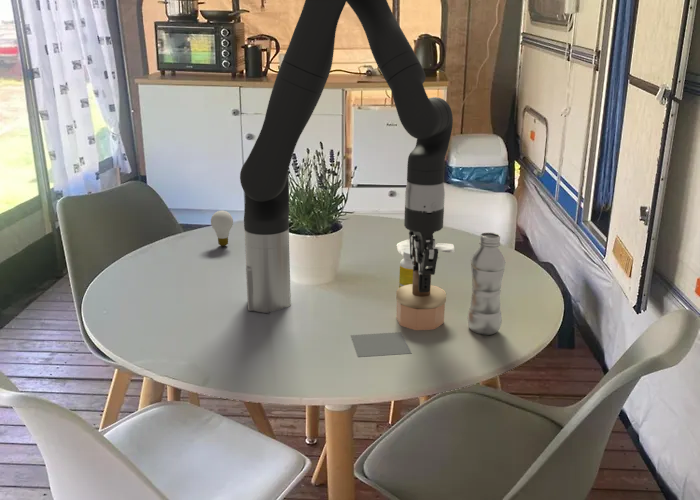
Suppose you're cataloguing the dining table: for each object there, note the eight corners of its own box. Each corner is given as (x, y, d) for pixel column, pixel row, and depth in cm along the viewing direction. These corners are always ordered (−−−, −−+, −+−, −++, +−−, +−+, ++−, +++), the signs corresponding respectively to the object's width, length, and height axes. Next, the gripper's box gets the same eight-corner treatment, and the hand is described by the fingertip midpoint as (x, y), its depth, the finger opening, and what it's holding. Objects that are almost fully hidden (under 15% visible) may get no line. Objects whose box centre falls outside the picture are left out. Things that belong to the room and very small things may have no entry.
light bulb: (232, 250, 182) (230, 213, 179) (210, 249, 182) (208, 213, 179) (236, 243, 188) (234, 208, 185) (214, 243, 188) (212, 207, 185)
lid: (402, 310, 132) (403, 283, 130) (391, 290, 141) (392, 265, 139) (452, 307, 133) (453, 280, 131) (438, 287, 142) (439, 262, 141)
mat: (357, 359, 123) (357, 356, 123) (350, 338, 132) (350, 335, 132) (411, 356, 125) (411, 353, 125) (401, 334, 133) (401, 332, 133)
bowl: (403, 333, 134) (403, 310, 132) (393, 315, 142) (394, 292, 141) (447, 330, 135) (448, 307, 133) (435, 312, 143) (436, 290, 142)
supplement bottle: (421, 297, 151) (423, 255, 148) (397, 295, 152) (398, 254, 149) (423, 288, 156) (425, 248, 153) (400, 286, 157) (401, 246, 154)
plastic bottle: (493, 341, 131) (501, 242, 124) (461, 333, 134) (467, 236, 128) (505, 329, 136) (513, 233, 129) (473, 321, 139) (480, 228, 133)
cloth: (412, 237, 195) (412, 229, 195) (482, 252, 183) (482, 243, 182) (372, 256, 180) (372, 247, 179) (445, 273, 168) (446, 264, 167)
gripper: (397, 196, 137) (395, 275, 142) (414, 215, 124) (410, 302, 129) (433, 194, 138) (430, 274, 143) (454, 213, 125) (449, 300, 130)
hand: (421, 287), depth 136 cm, fingers open, 4 cm apart
